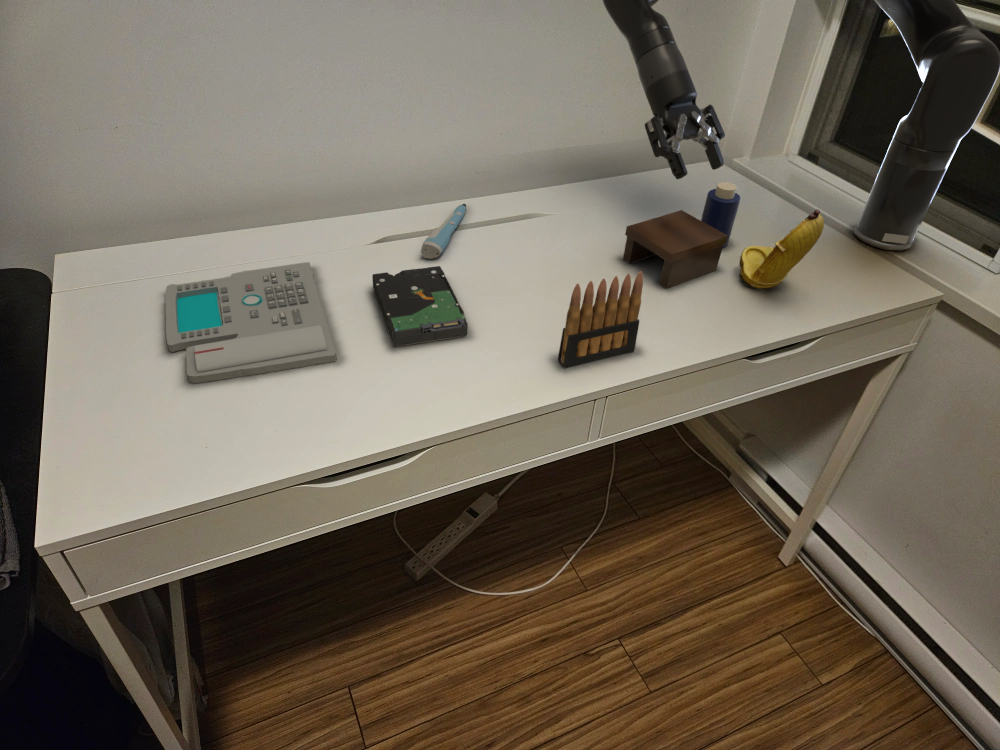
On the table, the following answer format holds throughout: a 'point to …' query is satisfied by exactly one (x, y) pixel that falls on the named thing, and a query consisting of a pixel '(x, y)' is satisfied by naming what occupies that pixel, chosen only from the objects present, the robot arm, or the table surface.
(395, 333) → the disk drive
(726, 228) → the bottle
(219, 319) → the office telephone
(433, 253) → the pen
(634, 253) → the brown wooden stand
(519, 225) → the table surface
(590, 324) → the ammunition clip
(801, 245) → the shrine
